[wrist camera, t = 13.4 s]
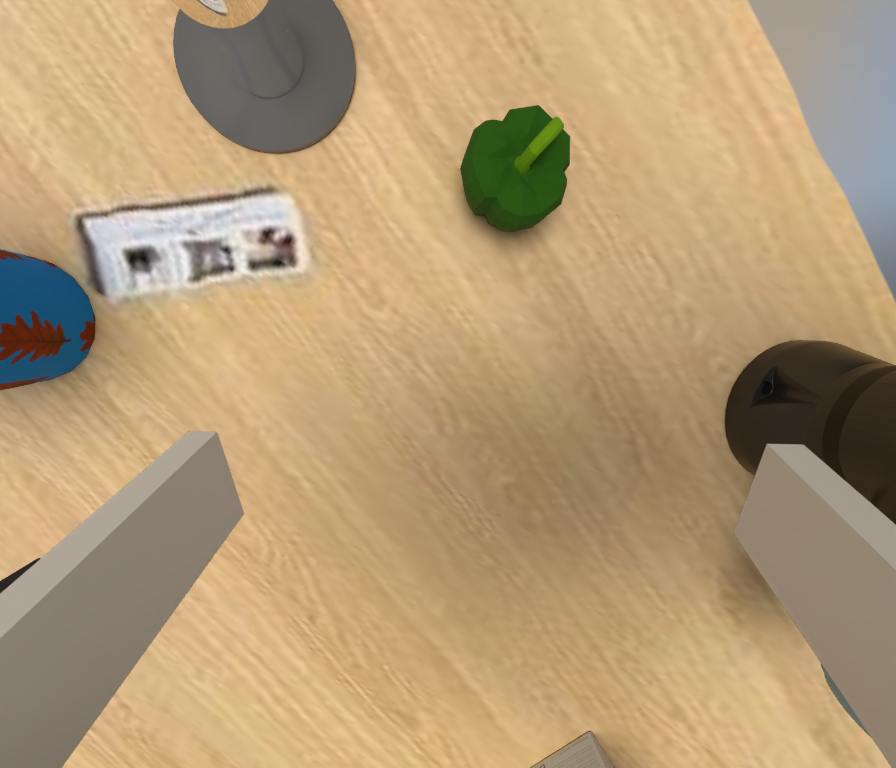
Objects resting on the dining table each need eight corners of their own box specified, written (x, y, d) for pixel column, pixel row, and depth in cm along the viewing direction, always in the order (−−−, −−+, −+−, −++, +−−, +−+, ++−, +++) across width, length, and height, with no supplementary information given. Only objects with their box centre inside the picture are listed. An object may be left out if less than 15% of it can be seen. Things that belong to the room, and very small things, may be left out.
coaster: (322, -53, 34) (320, -62, 33) (377, 128, 36) (376, 124, 35) (150, -10, 33) (144, -18, 32) (217, 173, 35) (213, 169, 35)
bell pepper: (477, 256, 39) (501, 233, 29) (440, 168, 37) (453, 112, 27) (559, 219, 39) (611, 184, 29) (525, 130, 37) (568, 61, 28)
